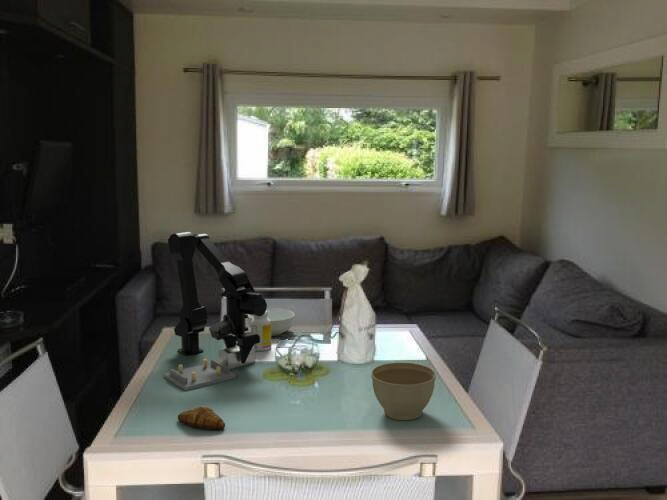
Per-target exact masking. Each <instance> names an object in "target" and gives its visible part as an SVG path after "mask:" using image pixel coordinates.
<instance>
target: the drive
mask: <svg viewBox="0 0 667 500" xmlns="http://www.w3.org/2000/svg"><path fill="white" fill-rule="evenodd" d="M218 362H220V363H222V364H224V365H225V366H227V367H229V368H230V370H231V369H234V368H237V367H241V366H245V365H249V364H253V363H255V362H256V351H255V347H253V348H252V349H251V351H250V353H249V355H248V358H247V360H246V362H245V363H243V364H242V363H241V357H240V349H239V347H238V346H237V345H236V346H234V347H230V348H226V347H225V348H222V349H219V350H218Z"/></svg>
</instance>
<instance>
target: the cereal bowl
mask: <svg viewBox="0 0 667 500" xmlns="http://www.w3.org/2000/svg"><path fill="white" fill-rule="evenodd" d="M266 311H268V315H267V318H269V319H270V321H271V337H273V336H274V337H275V336H278V335H281V334H282V333H284V332H287V331H289V330H290V329H291V328H292V327H293V326H294V323H295V316H296V314H295V313H294V312H293V311H291V310H290V309H289V310H288V309H283V308H267V309H266ZM247 315H248V318H247V322H248V325H249V327H250V328H251V320H252V319H253V318H254V315H249V314H247Z"/></svg>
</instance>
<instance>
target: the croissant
mask: <svg viewBox="0 0 667 500" xmlns="http://www.w3.org/2000/svg"><path fill="white" fill-rule="evenodd" d="M177 420H178V422H180V423H181V424H184V426H185V425H186V426H189V427H192V428H195V429H201V430H208V431H222V430H225V428H226V423H225V421H224V420H223V419H222V418H221V417H220V416H219V415H218V414H217V413H216V412H214V409H212V408H211V407H208V406H198V407H195V408H193V409H188V410H185V411H182V412H180V413H179V414H178V415H177Z"/></svg>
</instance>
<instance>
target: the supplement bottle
mask: <svg viewBox="0 0 667 500" xmlns="http://www.w3.org/2000/svg"><path fill="white" fill-rule="evenodd" d="M267 315H268V311H266V312H265V313H264V315H262V316H254V318H253V319H252V320H251V327H250V332H254V333H256V334H258V335H259V336H260V343H257V344H254V346H253V347H255V352H257V351H258V352H263V351H264V352H266V351H269V350H271V348H272V336H271V321H270V319H269V318H267Z"/></svg>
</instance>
